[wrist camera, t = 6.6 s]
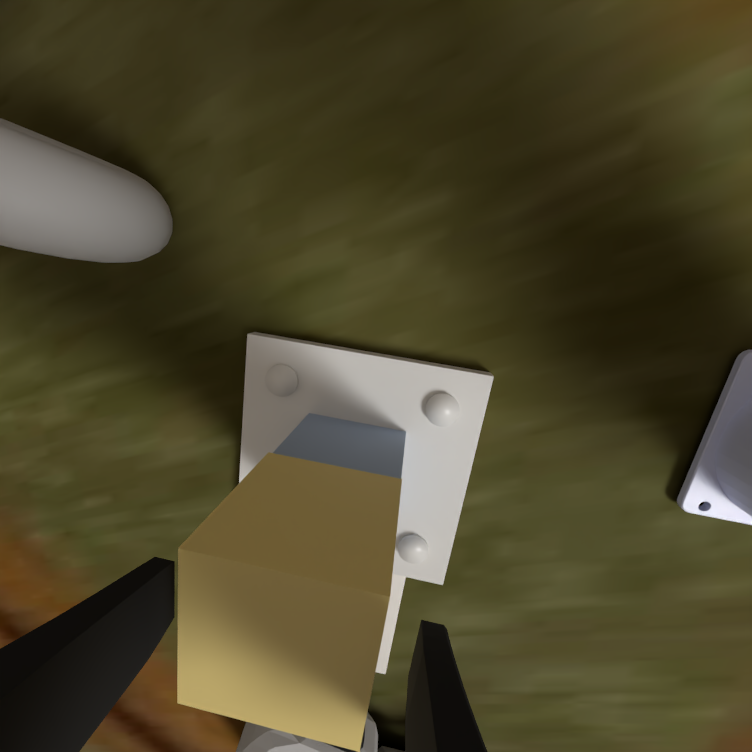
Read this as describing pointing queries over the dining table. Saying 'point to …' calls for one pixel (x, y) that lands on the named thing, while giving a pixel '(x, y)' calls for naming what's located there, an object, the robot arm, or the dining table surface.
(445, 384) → the plate
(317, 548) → the mustard block
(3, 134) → the donut
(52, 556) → the dining table surface
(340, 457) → the slate block
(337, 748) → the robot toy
